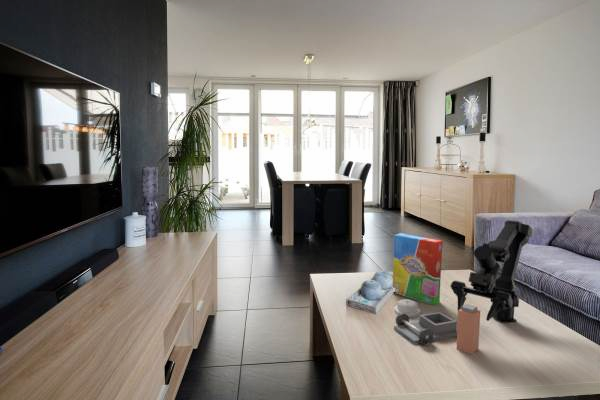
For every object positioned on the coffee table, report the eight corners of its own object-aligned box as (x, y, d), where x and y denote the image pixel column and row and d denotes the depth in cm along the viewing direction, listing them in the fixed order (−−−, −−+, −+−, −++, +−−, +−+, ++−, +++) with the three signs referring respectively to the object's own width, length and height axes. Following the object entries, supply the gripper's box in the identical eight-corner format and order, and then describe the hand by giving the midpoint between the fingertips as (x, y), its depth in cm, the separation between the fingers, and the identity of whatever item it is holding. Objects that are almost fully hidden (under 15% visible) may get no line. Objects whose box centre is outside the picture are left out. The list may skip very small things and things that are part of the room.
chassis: (441, 319, 149) (442, 306, 149) (470, 335, 135) (470, 322, 135) (391, 327, 142) (392, 314, 142) (416, 346, 128) (417, 331, 128)
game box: (391, 293, 178) (393, 234, 175) (398, 290, 182) (400, 232, 179) (434, 305, 163) (436, 241, 160) (440, 302, 166) (442, 239, 163)
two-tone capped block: (463, 343, 130) (464, 302, 128) (478, 348, 126) (480, 306, 125) (456, 348, 127) (458, 306, 125) (472, 354, 123) (474, 311, 121)
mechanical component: (394, 316, 152) (421, 318, 150) (394, 305, 152) (421, 307, 150) (393, 307, 162) (418, 308, 160) (394, 296, 162) (419, 298, 160)
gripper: (454, 257, 136) (437, 296, 129) (512, 268, 122) (497, 312, 116) (462, 275, 142) (447, 312, 136) (518, 287, 129) (505, 329, 122)
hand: (472, 315), depth 127 cm, fingers open, 9 cm apart
